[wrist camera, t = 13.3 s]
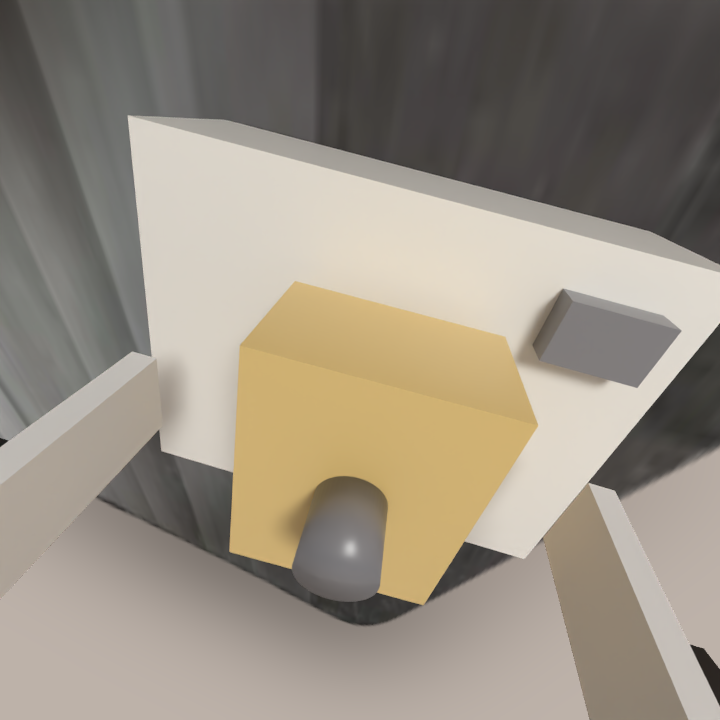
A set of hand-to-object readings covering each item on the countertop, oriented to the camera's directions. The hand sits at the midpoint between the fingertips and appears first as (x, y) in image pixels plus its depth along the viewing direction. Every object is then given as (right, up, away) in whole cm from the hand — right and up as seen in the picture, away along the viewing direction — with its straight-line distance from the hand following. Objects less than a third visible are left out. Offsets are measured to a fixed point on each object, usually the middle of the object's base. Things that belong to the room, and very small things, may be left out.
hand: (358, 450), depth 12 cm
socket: (+2, +5, +8) cm, 9 cm away
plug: (+1, +5, +8) cm, 9 cm away
